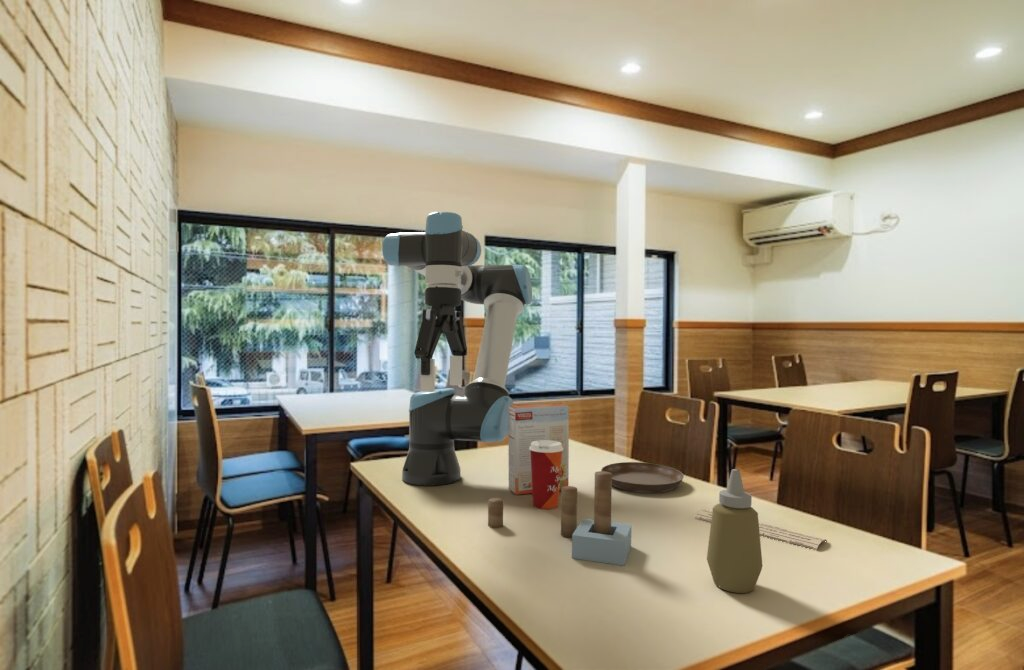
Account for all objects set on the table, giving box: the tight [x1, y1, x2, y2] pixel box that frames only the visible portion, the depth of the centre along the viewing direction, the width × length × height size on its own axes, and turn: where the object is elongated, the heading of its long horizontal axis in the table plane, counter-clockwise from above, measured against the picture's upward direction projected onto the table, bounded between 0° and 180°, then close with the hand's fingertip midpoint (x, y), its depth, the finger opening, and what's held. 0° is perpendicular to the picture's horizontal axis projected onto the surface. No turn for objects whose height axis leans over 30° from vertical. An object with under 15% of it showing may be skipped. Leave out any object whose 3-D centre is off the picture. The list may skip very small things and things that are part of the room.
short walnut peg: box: [487, 497, 504, 529], centre depth 113 cm, size 3×3×5 cm
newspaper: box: [693, 509, 828, 551], centre depth 113 cm, size 24×7×2 cm, turn 45°
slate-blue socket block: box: [571, 518, 632, 567], centre depth 100 cm, size 9×9×4 cm
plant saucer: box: [600, 461, 685, 494], centre depth 145 cm, size 21×21×3 cm
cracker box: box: [508, 402, 570, 496], centre depth 138 cm, size 14×6×21 cm, turn 108°
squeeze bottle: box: [706, 468, 763, 594], centre depth 88 cm, size 8×8×18 cm
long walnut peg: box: [593, 470, 613, 535], centre depth 100 cm, size 3×3×14 cm
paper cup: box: [529, 440, 563, 510], centre depth 126 cm, size 8×8×14 cm
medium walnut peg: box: [560, 485, 578, 539], centre depth 108 cm, size 3×3×9 cm
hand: (442, 388), depth 119 cm, fingers open, 13 cm apart
